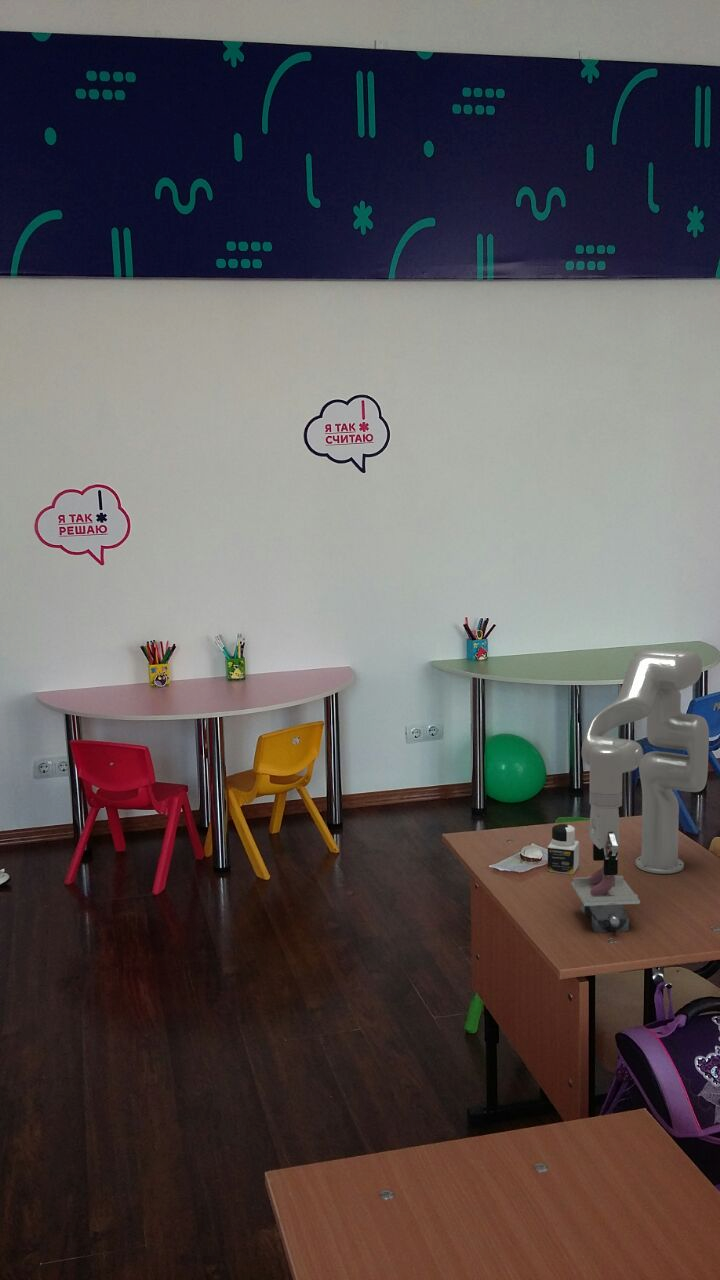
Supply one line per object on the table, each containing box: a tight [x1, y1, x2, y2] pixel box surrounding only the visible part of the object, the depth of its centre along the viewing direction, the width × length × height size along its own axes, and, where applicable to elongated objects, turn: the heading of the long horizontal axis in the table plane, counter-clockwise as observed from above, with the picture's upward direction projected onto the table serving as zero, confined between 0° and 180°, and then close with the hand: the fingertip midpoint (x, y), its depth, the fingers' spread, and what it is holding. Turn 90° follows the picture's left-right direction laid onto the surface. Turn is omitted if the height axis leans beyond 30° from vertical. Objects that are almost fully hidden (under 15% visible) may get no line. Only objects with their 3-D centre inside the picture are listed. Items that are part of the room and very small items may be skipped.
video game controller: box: [590, 865, 616, 896], centre depth 264 cm, size 10×5×7 cm, turn 169°
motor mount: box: [570, 875, 641, 933], centre depth 263 cm, size 16×13×9 cm
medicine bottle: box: [547, 823, 580, 875], centre depth 299 cm, size 7×7×12 cm
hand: (605, 867), depth 263 cm, fingers open, 9 cm apart
